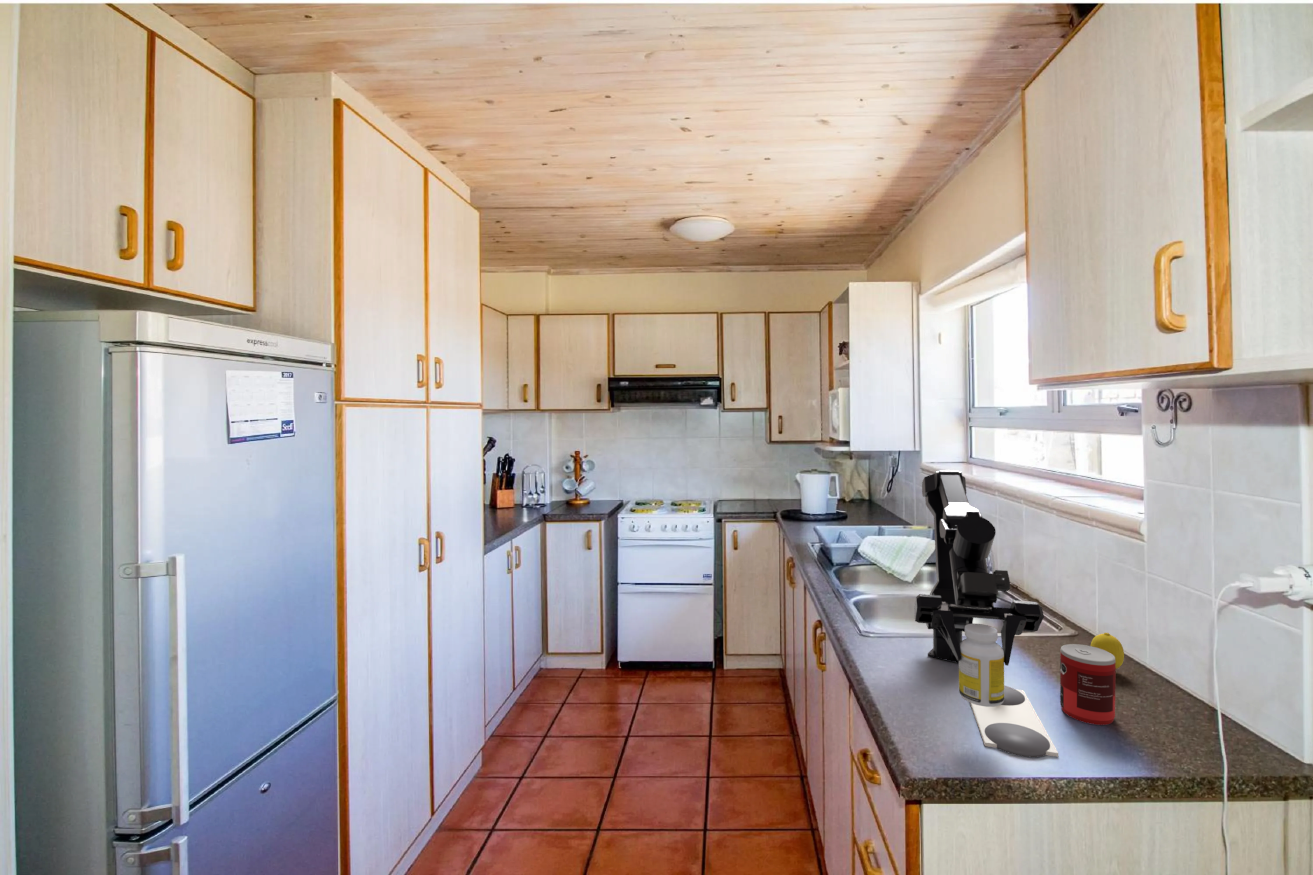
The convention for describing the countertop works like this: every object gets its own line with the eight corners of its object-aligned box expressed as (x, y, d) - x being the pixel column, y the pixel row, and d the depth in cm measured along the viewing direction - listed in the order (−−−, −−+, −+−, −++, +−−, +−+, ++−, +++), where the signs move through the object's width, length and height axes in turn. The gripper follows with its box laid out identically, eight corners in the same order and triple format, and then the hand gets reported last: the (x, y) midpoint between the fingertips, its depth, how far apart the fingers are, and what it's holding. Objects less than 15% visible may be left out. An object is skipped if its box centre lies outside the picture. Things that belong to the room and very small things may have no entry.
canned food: (1078, 700, 110) (1078, 640, 109) (1126, 720, 102) (1126, 657, 102) (1049, 708, 107) (1049, 647, 106) (1096, 729, 99) (1096, 664, 99)
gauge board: (963, 682, 117) (963, 649, 117) (1021, 689, 114) (1021, 655, 114) (986, 750, 94) (986, 708, 94) (1061, 762, 90) (1061, 718, 90)
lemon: (1095, 675, 119) (1095, 636, 119) (1085, 664, 125) (1085, 626, 124) (1128, 679, 118) (1129, 638, 117) (1117, 667, 123) (1117, 629, 123)
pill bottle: (1007, 696, 98) (1007, 626, 97) (999, 712, 93) (1000, 639, 92) (963, 685, 102) (963, 618, 101) (954, 700, 97) (954, 629, 96)
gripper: (915, 547, 103) (923, 634, 93) (1040, 553, 97) (1063, 646, 87) (911, 580, 111) (918, 663, 101) (1027, 587, 105) (1046, 676, 95)
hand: (982, 662), depth 96 cm, fingers closed on pill bottle, 6 cm apart
